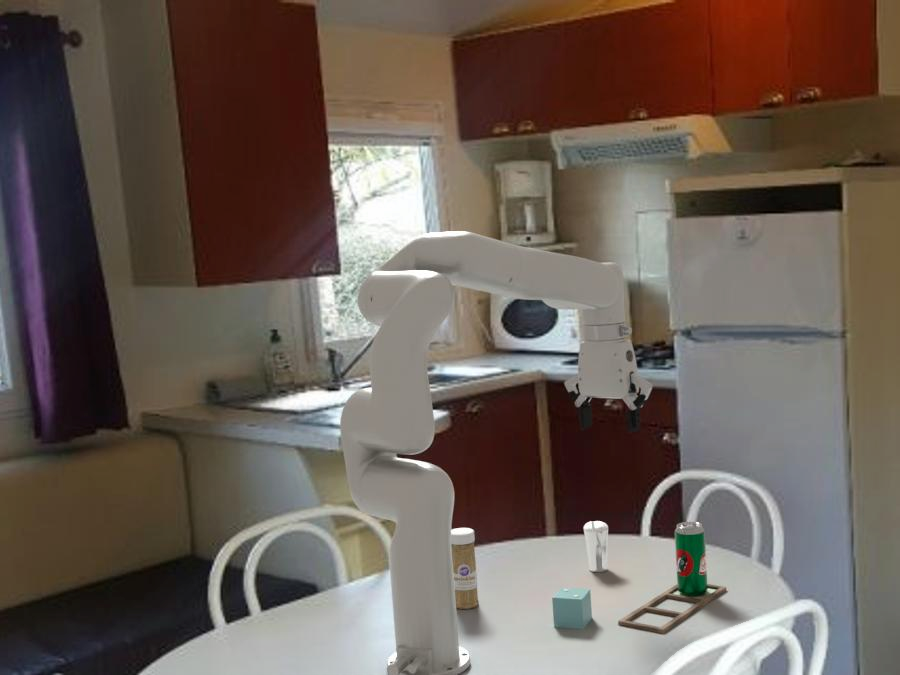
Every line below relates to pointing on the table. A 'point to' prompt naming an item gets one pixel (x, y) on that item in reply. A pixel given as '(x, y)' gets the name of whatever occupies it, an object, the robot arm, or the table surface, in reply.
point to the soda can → (691, 559)
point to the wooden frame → (671, 594)
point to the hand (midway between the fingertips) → (610, 429)
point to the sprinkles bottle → (464, 568)
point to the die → (572, 608)
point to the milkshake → (596, 545)
